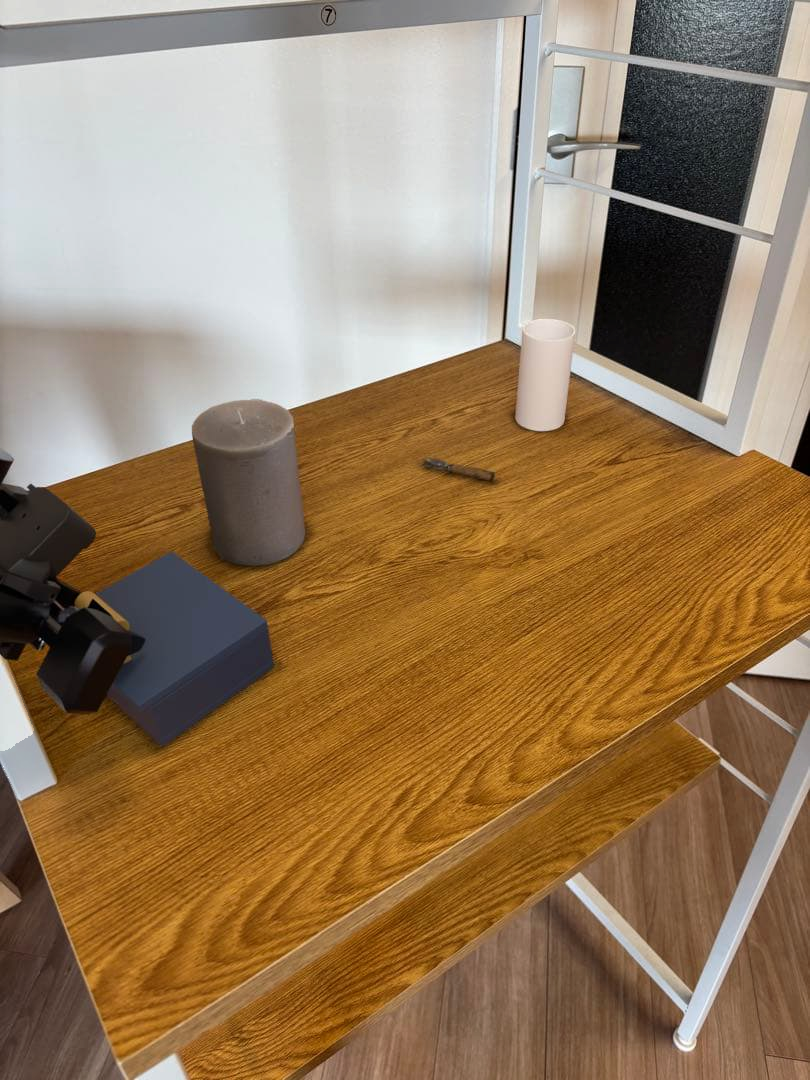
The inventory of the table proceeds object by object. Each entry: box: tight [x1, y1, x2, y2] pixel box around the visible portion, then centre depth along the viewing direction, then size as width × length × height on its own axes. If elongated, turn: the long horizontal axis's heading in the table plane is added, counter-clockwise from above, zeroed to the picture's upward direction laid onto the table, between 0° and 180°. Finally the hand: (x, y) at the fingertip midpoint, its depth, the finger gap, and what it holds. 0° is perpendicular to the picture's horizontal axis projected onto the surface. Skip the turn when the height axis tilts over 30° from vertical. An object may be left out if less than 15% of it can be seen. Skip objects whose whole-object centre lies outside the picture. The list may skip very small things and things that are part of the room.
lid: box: [62, 551, 269, 713], centre depth 68 cm, size 12×14×5 cm
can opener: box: [421, 458, 496, 482], centre depth 95 cm, size 9×2×1 cm, turn 61°
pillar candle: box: [191, 398, 306, 567], centre depth 82 cm, size 10×10×15 cm
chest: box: [106, 627, 275, 748], centre depth 71 cm, size 12×14×5 cm
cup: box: [514, 318, 576, 432], centre depth 101 cm, size 6×6×12 cm
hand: (124, 628), depth 66 cm, fingers closed on lid, 5 cm apart
